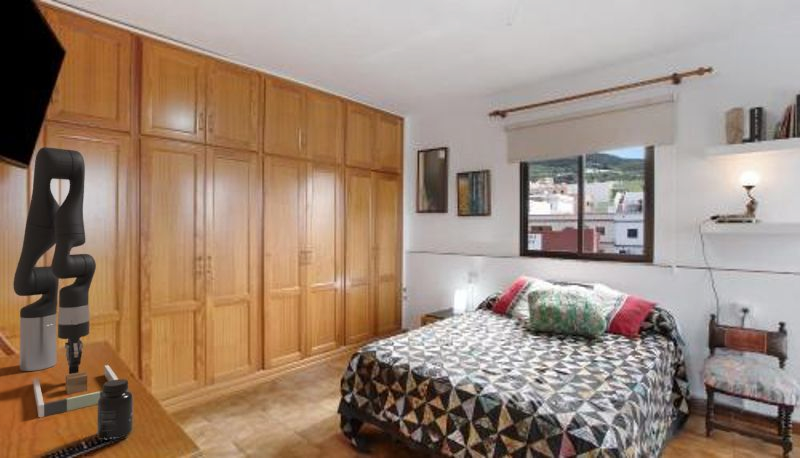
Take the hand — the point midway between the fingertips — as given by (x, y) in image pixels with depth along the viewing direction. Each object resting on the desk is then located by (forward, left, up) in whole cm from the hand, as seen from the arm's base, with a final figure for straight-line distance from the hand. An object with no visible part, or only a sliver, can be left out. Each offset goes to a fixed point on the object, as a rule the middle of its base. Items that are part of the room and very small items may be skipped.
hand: (73, 377), depth 127 cm
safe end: (+21, +7, -2) cm, 22 cm away
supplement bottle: (+41, +17, -2) cm, 44 cm away
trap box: (+10, +3, -2) cm, 11 cm away
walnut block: (+7, +2, -2) cm, 8 cm away
